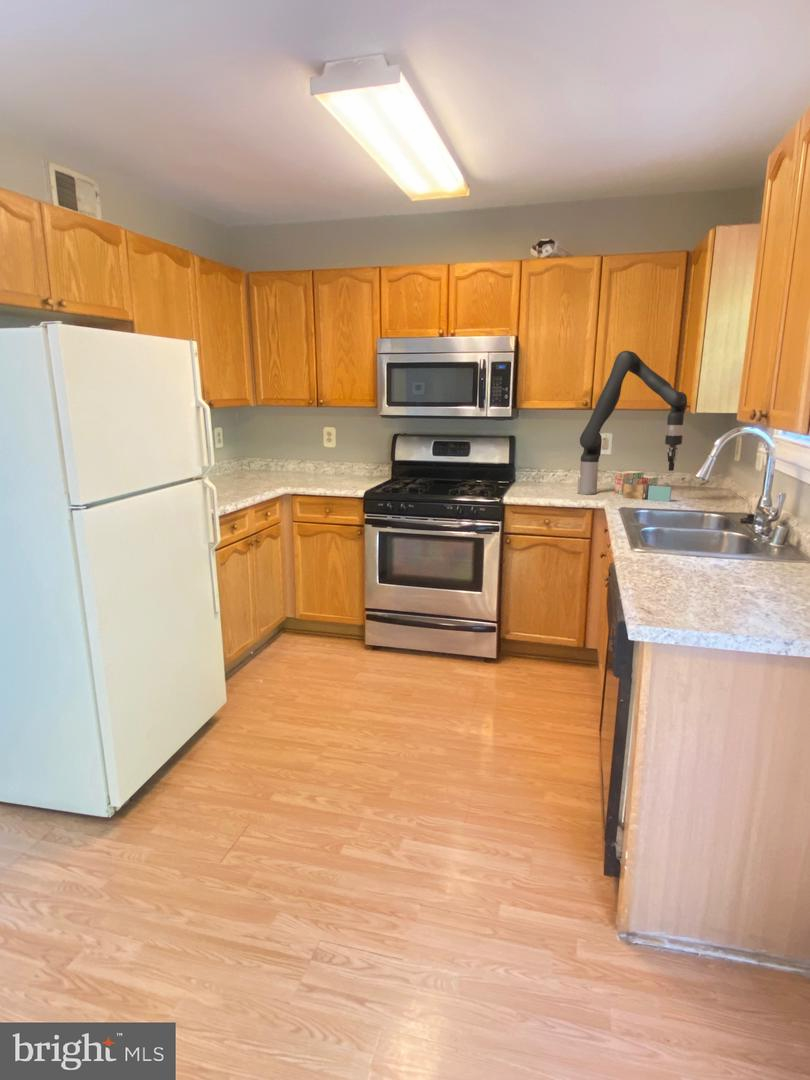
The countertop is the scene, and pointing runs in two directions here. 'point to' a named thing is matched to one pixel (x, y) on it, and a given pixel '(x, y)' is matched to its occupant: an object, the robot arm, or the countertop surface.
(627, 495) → the fence fixed panel
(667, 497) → the fence free panel
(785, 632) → the countertop surface
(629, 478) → the stack of blocks
